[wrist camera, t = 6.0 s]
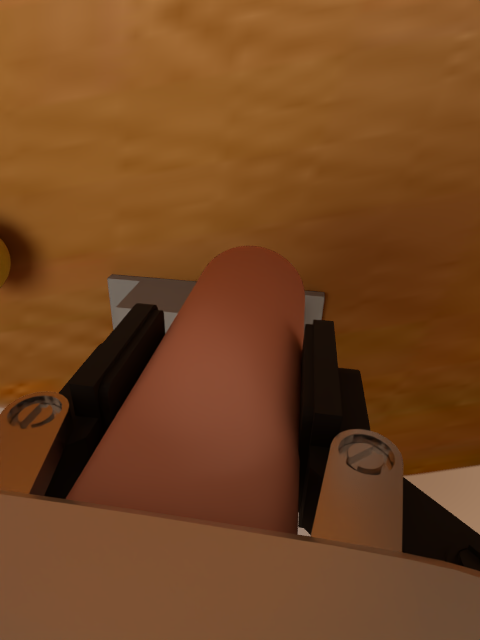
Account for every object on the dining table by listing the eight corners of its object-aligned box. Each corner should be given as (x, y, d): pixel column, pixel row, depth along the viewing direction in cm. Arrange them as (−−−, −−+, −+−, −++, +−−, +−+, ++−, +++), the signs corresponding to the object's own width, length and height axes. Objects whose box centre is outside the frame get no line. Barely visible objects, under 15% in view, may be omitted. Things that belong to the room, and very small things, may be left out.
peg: (310, 250, 15) (308, 634, 4) (299, 349, 17) (279, 782, 6) (197, 241, 15) (-55, 569, 5) (198, 338, 17) (22, 726, 7)
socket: (324, 292, 31) (326, 326, 26) (308, 412, 36) (308, 458, 31) (111, 274, 33) (78, 303, 28) (125, 391, 38) (99, 432, 33)
